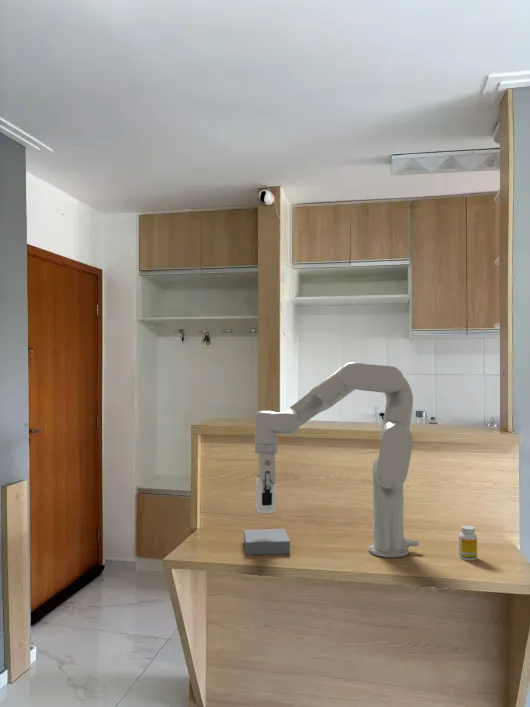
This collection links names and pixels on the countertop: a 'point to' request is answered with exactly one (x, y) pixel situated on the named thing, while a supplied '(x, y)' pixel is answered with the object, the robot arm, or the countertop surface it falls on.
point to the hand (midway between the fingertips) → (265, 502)
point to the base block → (266, 541)
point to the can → (259, 490)
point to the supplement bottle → (468, 543)
